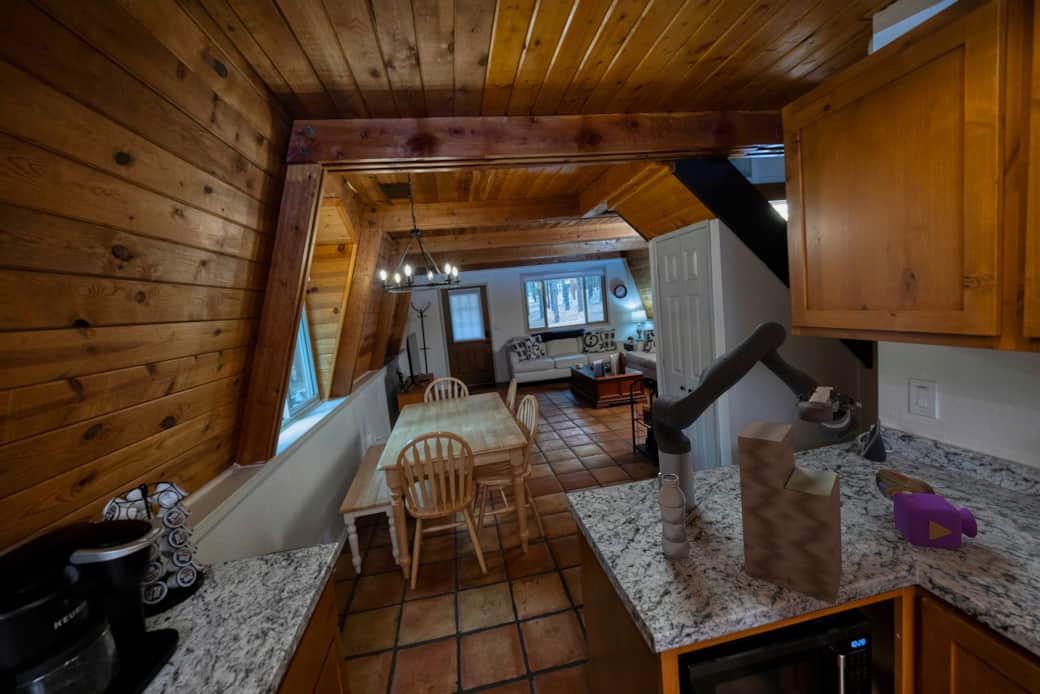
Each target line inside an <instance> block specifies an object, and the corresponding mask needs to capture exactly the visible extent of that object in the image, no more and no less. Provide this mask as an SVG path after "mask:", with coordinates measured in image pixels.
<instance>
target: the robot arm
mask: <svg viewBox="0 0 1040 694" xmlns="http://www.w3.org/2000/svg"><path fill="white" fill-rule="evenodd" d="M786 340H787V331H786V329H785V327H784V326H783V324H781V323H779V322H777V321H764V322H762V323H760V324H758V325H756V327H754V329H752V330H751V331H750V332H749V334H747V336H746V338H744V340H742V341H741V342H740V343H738V344H737V345H734V346H733V347H732V348H730V349H729V350H727V351H725V352H724V353H722V354H721V355H720V356H719V357H717V358H715V359H714V360H713V361H712V362H710V363H709V364H708V365H707V366H705V367H704V368H703V370H702V371H701V373H700V377H699V381H698V384H697V386H696V387H694V389H692V391H691V392H689V393H688V394H686V395H684V396H683V397H680V396H679V397H678V396H674V395H669V394H662V395H659V396H657V397H656V398H655V400H654V401H653V403H652V408H651V419H652V420H651V421H652V427H653V435H654V440H655V441H656V443H657V447H658V459H659V472H658V473H657V484H658V492H659V491H660V490H661V488H662V487H663V484H662V476H663V475H665V474H673V475H676V476H678V480H679V486H678V487H679V488H680V489H681V491H682V492H683V493H684V495H685V498H686V507H685V511H689V510H692V509H693V508H695V506H696V503H695V502H696V501H695V500H696V499H695V488H694V487H695V485H694V472H693V471H694V470H693V457H692V453H693V452H692V442H691V440H690V438H689V437H688V436H687V435H686V434H684V432H683V430H686V429H688V428H689V427H691V426H692V425H693V424H694V423H695V422H696V421H697V420H698V419H699V418H700V417H701V416H702V414H703V413H705V411H707V409H708V408H709V407H710V406H711V405H712V404H714V403H715V402H716V401H717V400H718V399H719V398H721V396H722V395H724V394H725V393H726V392H727V391H729V390H730V389H732V388H733V387H734V386H735V385H736V384H737V383H738V382H740V381H741V380H742V379H743V378H744V377H746V375H747V374H748V373H749V372H750V371H752V369H753V368H754V366H756V365H757V363H758V362H760V363H761V364H762V365H764V366H765V367H766V368H767V369H768V370H769V371H771V372H772V373H773V374H774V375H775V376H776V377H777V378H778V379H780V380H781V381H782V382H783V383H784V384H785V385H786V386H787V388H788V389H789V390H791V391H792V393H793V394H794V395H795V397H796V398H795V400H796V401H795V406H796V407H798V404H799V403H801V402H806V401H809V400H810V398H811V397H812V395H813V394H814V392H815V391H816V389H817V387H823V386H822V385H821V384H820V383H819V381H817V379H815V378H814V377H813V376H811V375H810V374H809V373H807V372H805V371H803V370H801V369H799V368H797V367H796V366H794V365H792V364H790V363H789V362H788V361H786V360H785V359H784V358H783V357H782V356H781V355H780V354H779V352H778V351H777V350H778V349H780V348H781V347H782V346H783V345H784V343H785V341H786ZM830 399H831V402H832V404H831V405H832V406H833V420H832V421H830V422H825V423H815V428H816V430H817V433H818V434H819V435H820V436H821V437H822V438H823V439H824V440H825V441H827V442H837V441H841V440H842V439H844V438H846V437H848V436H850V435H852V434H854V433H856V432H858V431H859V430H861V429H862V424H863V423H862V421H861V419H860V417H859V416H858V415H857V414H855V413H854V411H856V412H861V411H862V400H860V399H859V398H856V397H854V396H852V395H850V394H846V393H845V394H842V395H840V393H839V392H838V391H837V390H836V391H835V389H834V388H833V389H830ZM851 410H853V412H852V411H851Z"/></svg>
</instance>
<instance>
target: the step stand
mask: <svg viewBox="0 0 1040 694" xmlns="http://www.w3.org/2000/svg"><path fill="white" fill-rule="evenodd" d="M737 446H738V447H737V448H738V464H739V467H738V468H739V481H740V482H739V483H740V484H739V485H740V503H741V519H742V520H741V522H742V538H743V539H742V542H743V557H744V559H743V560H744V574H745V575H746V576H748V577H752V578H755V579H757V580H761V581H763V582H766V583H769V584H772V585H775V586H778V587H781V588H784V589H786V590H789V591H791V592H796V593H798V594H802V595H805V596H807V597H809V598H810V597H811V598H813V599H816V600H819V601H821V602H824V603H827V604H831V605H834V606H836V604H837V599H838V594H839V589H840V586H841V585H840V583H841V578H842V574H843V558H842V557H843V556H842V555H843V554H842V553H843V552H842V518H841V515H842V514H841V513H842V512H841V486H840V485H841V483H840V482H841V480H840V478H841V475H840V474H838V473H837V472H831V471H827V470H826V471H825V470H821V469H820V470H818V469H813V468H808V467H802V466H795V447H794V446H795V443H794V425H793V423H792V424H790V423H782V422H769V421H764V420H763V421H761V420H754V419H753V420H751V422H750V423H748V425H747V426H745V428H744V429H743V430H742V431H741V432H740V433H739V434H738V435H737Z"/></svg>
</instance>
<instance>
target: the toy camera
mask: <svg viewBox="0 0 1040 694" xmlns="http://www.w3.org/2000/svg"><path fill="white" fill-rule="evenodd" d="M935 494H936V493H935ZM935 494H922V493H912V492H909V491H903V492H898V493H895V494H894V501H893V522H894V525H895V527H896V528H897V529H898V531H900V533H901V534H902V535H903V537H904V538H905V539H906V540H907V541H908V542H909V543H911V544H912V545H915V546H923V547H931V548H941V549H942V548H943V549H953V550H956V549H960V548H961V547H962V542H963V538H962V537H963V535H965V536H966V537H968V538H971V539H974V538H976V537H977V535H978V533H979V531H978V524H977V523H978V522H977V521H976V518H975V515H974V514H973V513H972V511H971V510H970V509H969V508H968V507H962V508H959V509H957V508H956V507H955V506H954V505H953V504H952V503H950V502H949V501H948V500H947V499H945V498H944V497H942V496H941V495H938V494H936V495H935Z"/></svg>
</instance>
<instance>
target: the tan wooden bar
mask: <svg viewBox="0 0 1040 694" xmlns="http://www.w3.org/2000/svg"><path fill="white" fill-rule="evenodd" d="M830 389H834V387H831V386H822V387H817V389H816V391H815V392H814V394H813V395H812V397H811V398H810V400H809V401H806V402H801V403H799V404H798V406H797V407H798V408H797V409H798V418H799V419H800V420H802V421H804V422H809V423H815V424H816V423H825V422H830V421H832V420H833V406H832V405H831V404H832V402H831V399H830Z"/></svg>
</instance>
